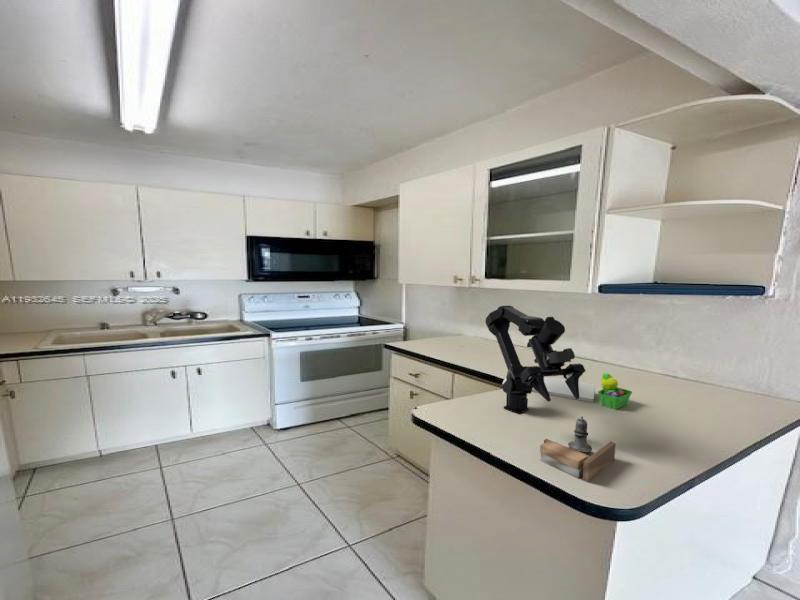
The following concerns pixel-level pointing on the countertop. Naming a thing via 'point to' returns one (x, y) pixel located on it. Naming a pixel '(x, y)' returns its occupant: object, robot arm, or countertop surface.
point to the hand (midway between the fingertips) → (563, 399)
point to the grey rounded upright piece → (580, 438)
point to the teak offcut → (563, 454)
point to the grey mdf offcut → (562, 466)
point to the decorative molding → (567, 389)
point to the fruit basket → (612, 393)
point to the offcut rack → (595, 460)
